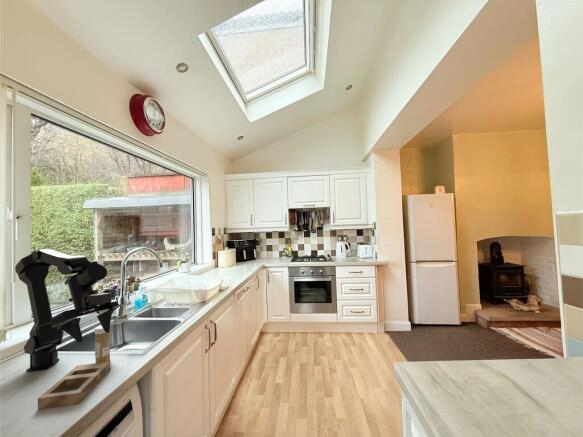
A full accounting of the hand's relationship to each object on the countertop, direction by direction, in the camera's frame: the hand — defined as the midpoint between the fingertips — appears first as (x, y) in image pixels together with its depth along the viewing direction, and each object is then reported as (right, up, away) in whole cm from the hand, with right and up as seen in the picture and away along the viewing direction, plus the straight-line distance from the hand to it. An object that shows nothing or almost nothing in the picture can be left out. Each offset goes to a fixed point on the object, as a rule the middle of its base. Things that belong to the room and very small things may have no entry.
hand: (95, 337), depth 82 cm
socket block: (-2, -14, -4) cm, 15 cm away
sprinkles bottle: (-5, -15, +10) cm, 18 cm away
